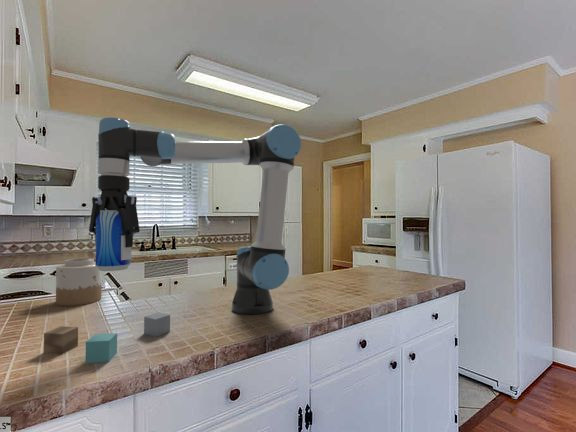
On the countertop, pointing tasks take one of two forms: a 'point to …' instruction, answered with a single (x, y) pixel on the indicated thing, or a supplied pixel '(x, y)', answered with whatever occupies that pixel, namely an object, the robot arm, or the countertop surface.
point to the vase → (78, 282)
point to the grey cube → (156, 324)
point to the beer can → (109, 242)
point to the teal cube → (101, 348)
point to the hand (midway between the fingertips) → (113, 258)
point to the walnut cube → (60, 340)
